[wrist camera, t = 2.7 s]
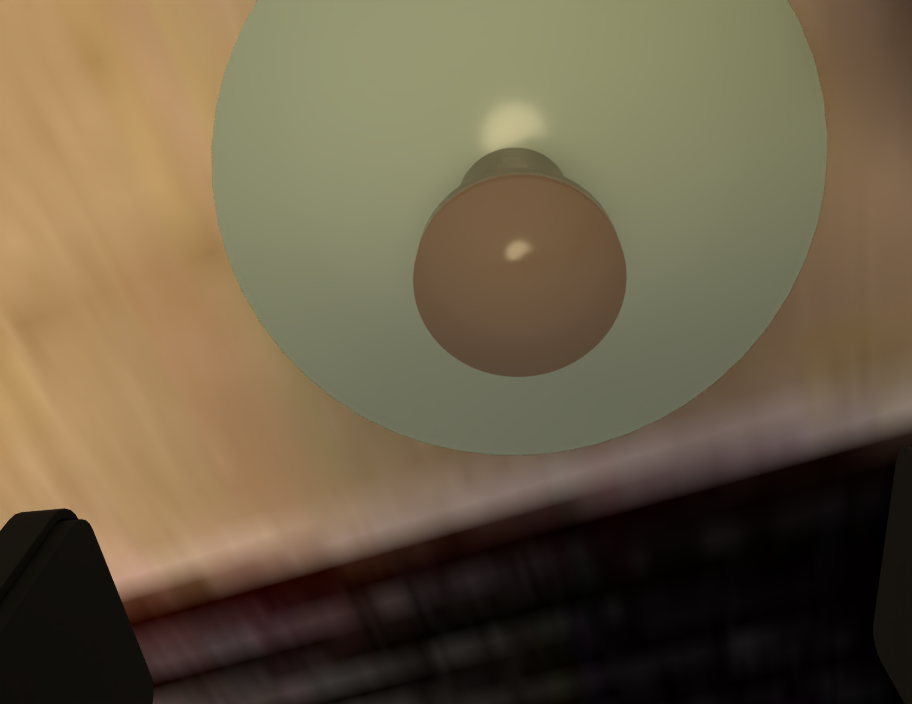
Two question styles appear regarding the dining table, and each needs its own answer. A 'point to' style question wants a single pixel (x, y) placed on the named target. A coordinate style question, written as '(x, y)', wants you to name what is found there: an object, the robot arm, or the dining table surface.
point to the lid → (518, 203)
